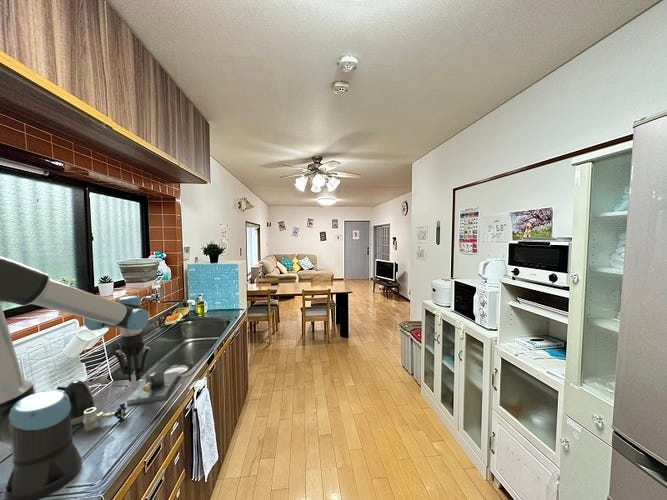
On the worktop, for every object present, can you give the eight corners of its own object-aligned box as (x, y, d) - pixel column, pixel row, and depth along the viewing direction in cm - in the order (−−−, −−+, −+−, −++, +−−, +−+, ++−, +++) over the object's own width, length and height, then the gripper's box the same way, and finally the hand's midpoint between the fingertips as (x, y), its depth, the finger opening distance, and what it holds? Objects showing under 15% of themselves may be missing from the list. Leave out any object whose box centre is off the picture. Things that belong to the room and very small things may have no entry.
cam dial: (155, 395, 119) (154, 383, 119) (136, 398, 117) (135, 386, 117) (166, 378, 134) (166, 367, 134) (150, 380, 132) (149, 369, 132)
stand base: (165, 399, 120) (164, 385, 120) (127, 405, 117) (126, 390, 117) (179, 375, 142) (178, 363, 141) (147, 379, 138) (146, 367, 138)
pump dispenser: (65, 417, 110) (62, 378, 109) (99, 409, 114) (96, 372, 114) (52, 433, 101) (49, 391, 100) (90, 424, 105) (87, 384, 104)
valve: (79, 435, 99) (121, 426, 104) (78, 416, 99) (120, 408, 103) (88, 424, 105) (126, 415, 110) (86, 406, 105) (125, 399, 110)
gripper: (152, 328, 124) (155, 381, 125) (118, 332, 121) (121, 386, 122) (146, 334, 117) (149, 390, 118) (109, 338, 114) (113, 395, 115)
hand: (135, 388), depth 120 cm, fingers closed
